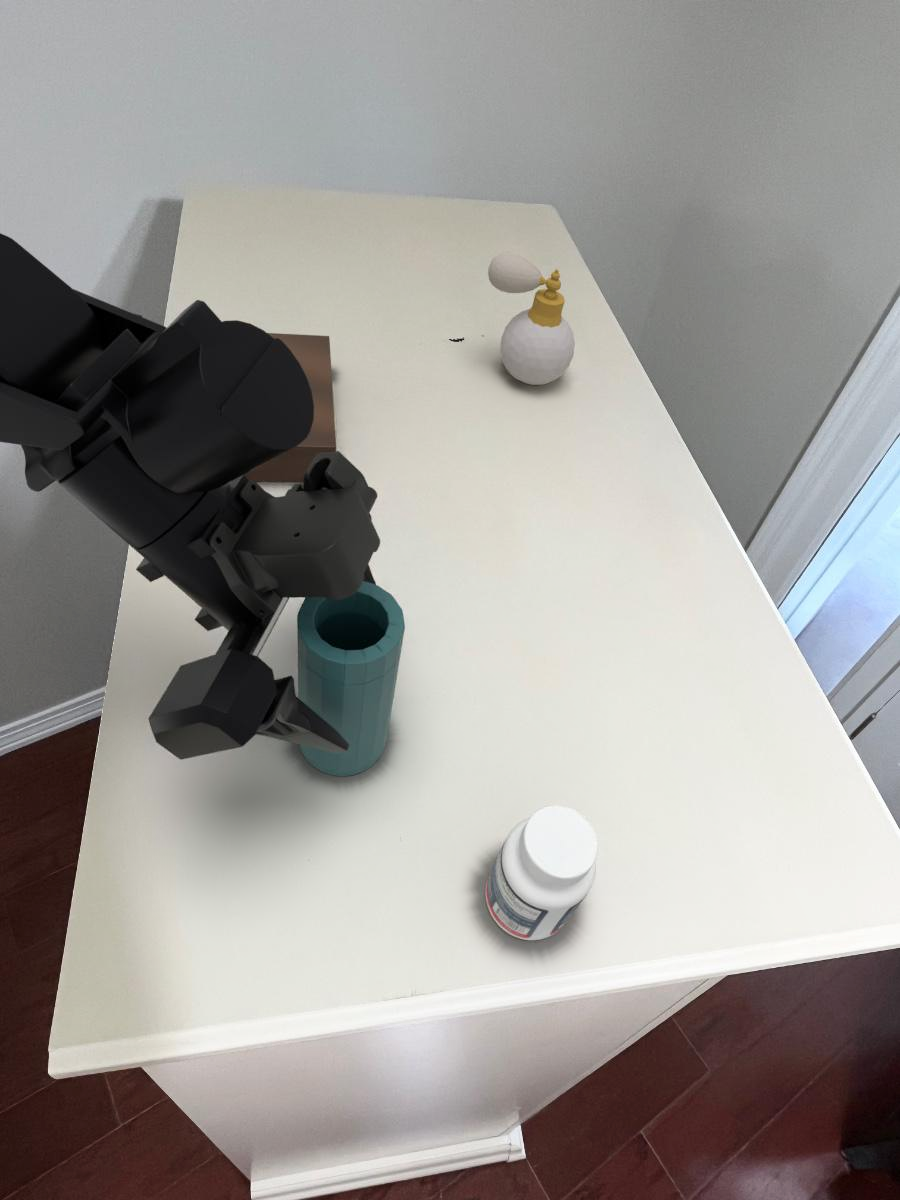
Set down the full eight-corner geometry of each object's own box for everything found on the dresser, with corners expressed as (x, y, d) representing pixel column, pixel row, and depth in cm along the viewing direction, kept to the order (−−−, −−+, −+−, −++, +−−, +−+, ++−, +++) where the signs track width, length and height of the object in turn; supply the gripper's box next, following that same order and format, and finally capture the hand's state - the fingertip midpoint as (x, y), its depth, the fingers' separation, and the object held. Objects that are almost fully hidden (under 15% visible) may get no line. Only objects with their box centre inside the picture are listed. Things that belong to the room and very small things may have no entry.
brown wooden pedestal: (334, 482, 68) (336, 447, 65) (215, 481, 67) (210, 444, 63) (328, 371, 78) (329, 335, 75) (223, 367, 76) (220, 330, 73)
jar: (286, 762, 51) (281, 646, 41) (316, 690, 55) (318, 568, 45) (371, 786, 51) (387, 676, 41) (396, 713, 55) (416, 595, 45)
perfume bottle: (573, 398, 81) (607, 289, 72) (481, 397, 79) (504, 285, 70) (555, 355, 86) (584, 248, 77) (467, 353, 84) (487, 242, 74)
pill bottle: (556, 850, 50) (596, 788, 43) (578, 935, 47) (625, 883, 40) (476, 860, 49) (503, 798, 42) (493, 948, 46) (525, 896, 39)
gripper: (177, 605, 29) (426, 817, 37) (348, 345, 41) (509, 547, 49) (37, 662, 36) (274, 833, 44) (219, 423, 48) (380, 591, 56)
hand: (368, 689), depth 48 cm, fingers open, 8 cm apart
